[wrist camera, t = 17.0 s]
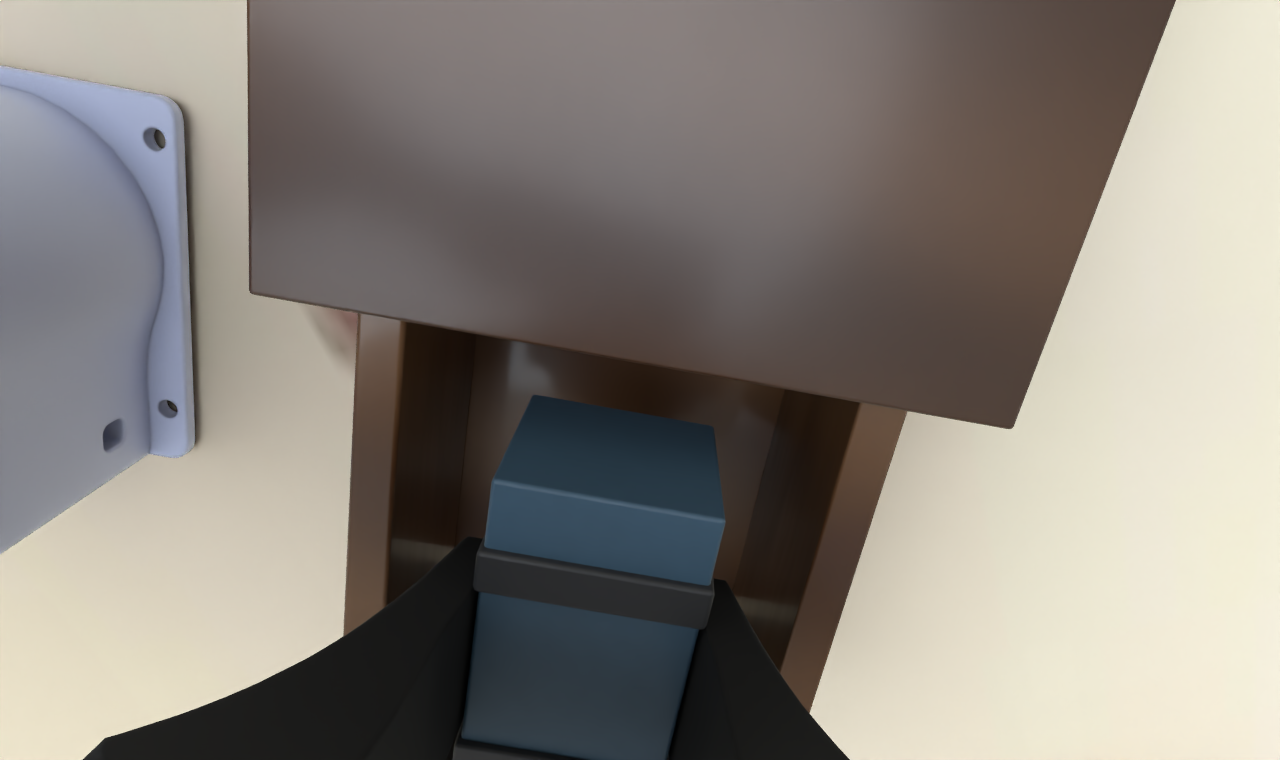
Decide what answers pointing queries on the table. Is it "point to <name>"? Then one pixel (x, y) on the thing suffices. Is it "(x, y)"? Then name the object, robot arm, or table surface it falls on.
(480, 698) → the bundle
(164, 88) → the table surface
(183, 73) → the table surface
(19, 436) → the robot arm
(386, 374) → the drawer
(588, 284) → the cabinet
